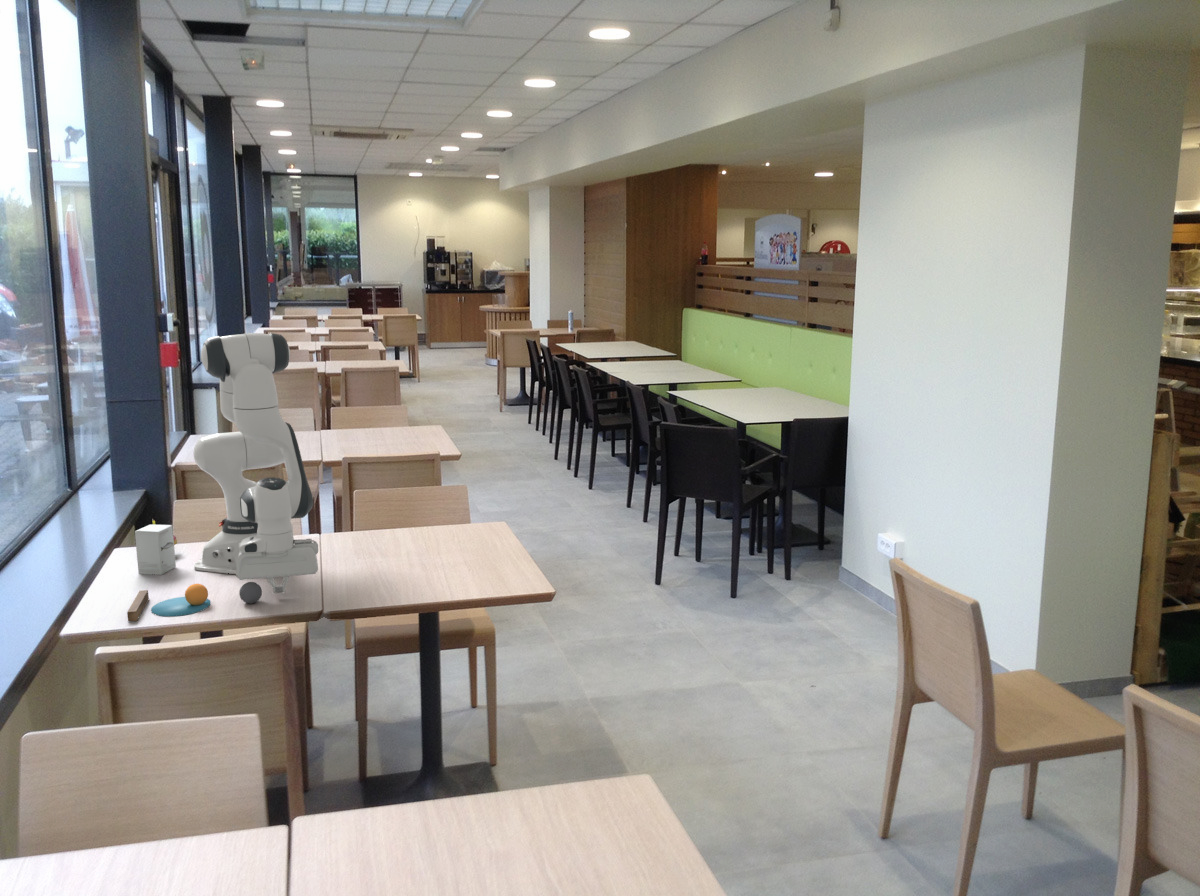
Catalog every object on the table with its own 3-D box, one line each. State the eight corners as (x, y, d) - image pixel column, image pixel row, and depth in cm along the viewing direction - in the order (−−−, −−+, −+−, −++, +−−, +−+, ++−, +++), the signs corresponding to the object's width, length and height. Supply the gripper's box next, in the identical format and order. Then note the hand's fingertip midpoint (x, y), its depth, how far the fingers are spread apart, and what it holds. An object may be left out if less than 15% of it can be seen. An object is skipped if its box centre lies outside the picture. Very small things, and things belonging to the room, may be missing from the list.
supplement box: (162, 575, 277) (157, 531, 275) (137, 574, 278) (133, 530, 276) (177, 567, 284) (173, 524, 282) (153, 566, 285) (149, 523, 283)
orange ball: (211, 588, 252) (208, 608, 253) (207, 580, 257) (204, 600, 258) (188, 587, 249) (185, 608, 250) (184, 580, 254) (181, 600, 255)
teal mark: (139, 615, 247) (139, 614, 247) (169, 596, 260) (169, 595, 260) (193, 617, 245) (193, 616, 245) (220, 598, 259) (220, 597, 259)
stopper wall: (128, 621, 242) (127, 612, 242) (140, 599, 258) (139, 590, 257) (137, 620, 243) (136, 611, 242) (148, 599, 258) (147, 590, 258)
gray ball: (265, 585, 254) (266, 602, 256) (254, 574, 257) (255, 591, 260) (245, 593, 250) (246, 610, 253) (234, 582, 253) (236, 599, 256)
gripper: (317, 534, 261) (320, 584, 264) (235, 540, 256) (239, 591, 259) (317, 541, 255) (320, 592, 258) (233, 547, 250) (237, 599, 253)
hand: (279, 592), depth 258 cm, fingers closed
